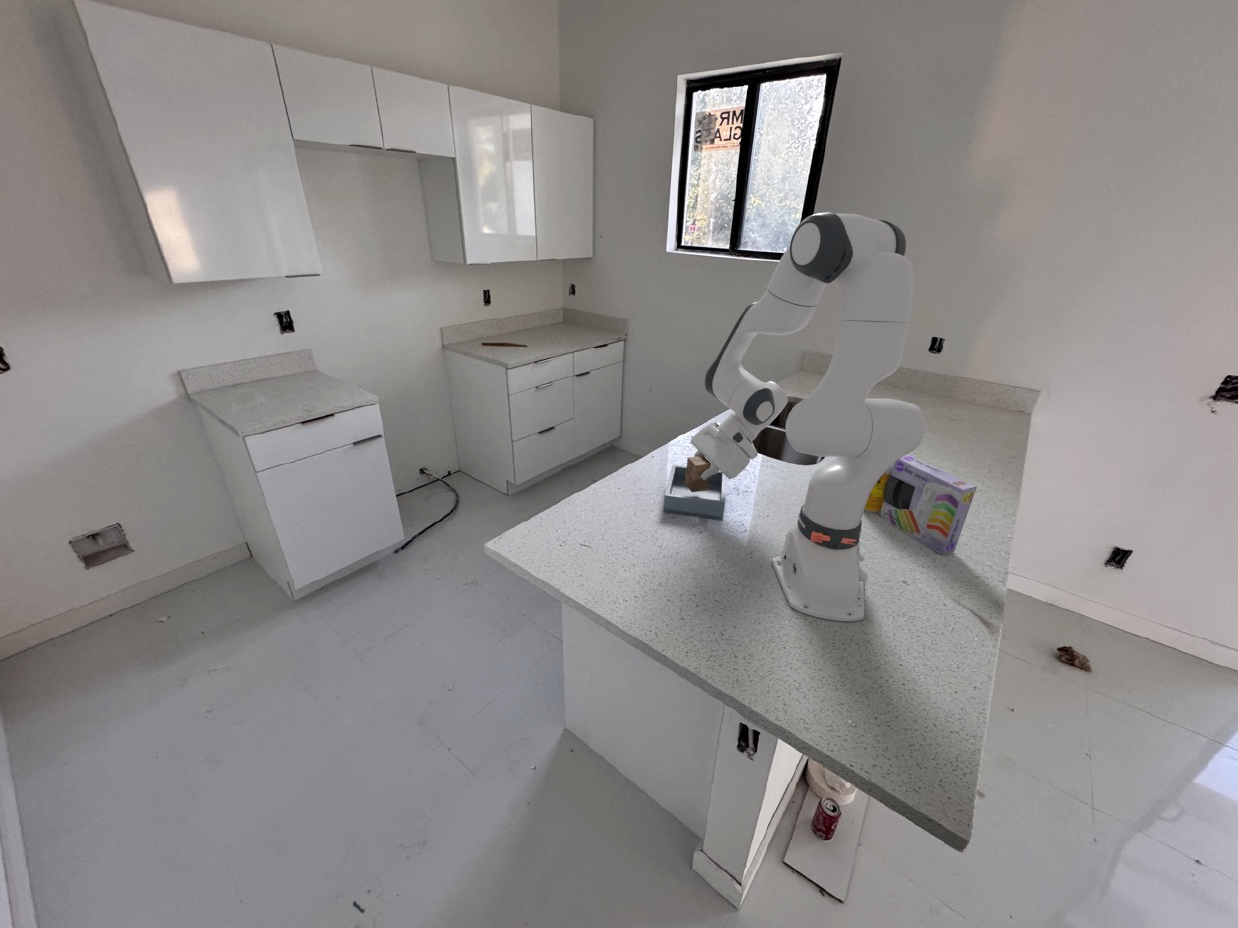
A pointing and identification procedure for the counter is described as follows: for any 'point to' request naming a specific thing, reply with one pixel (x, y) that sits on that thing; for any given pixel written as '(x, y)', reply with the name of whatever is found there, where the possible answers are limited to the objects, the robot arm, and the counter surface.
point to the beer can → (878, 493)
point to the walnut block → (696, 473)
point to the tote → (695, 496)
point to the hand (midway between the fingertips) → (696, 472)
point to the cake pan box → (927, 503)
